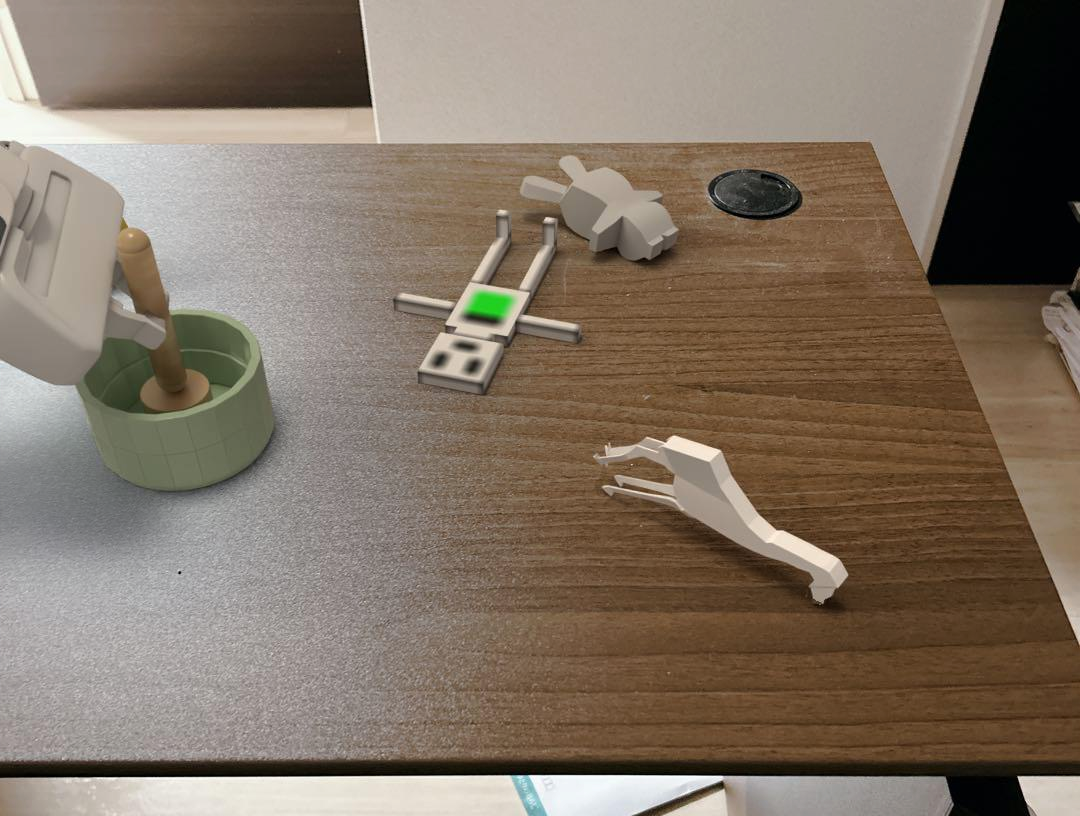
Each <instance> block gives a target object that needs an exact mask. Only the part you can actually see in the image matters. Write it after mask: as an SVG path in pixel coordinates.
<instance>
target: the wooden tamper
mask: <svg viewBox="0 0 1080 816" xmlns="http://www.w3.org/2000/svg"><path fill="white" fill-rule="evenodd" d="M116 248H117V251H118V255H119V258H120V261H121V265H122V268H123V271H124V275H125V278H126V281H127V285H128V288H129V292H130V295H131V298H132V299H131V298H130V299H131V301H132V304H133V308H134V311H135V312H134V313H138V314H141V315H143V314H144V313H145V312H146V311H147V310H148V311H150V312H151V313H153V314H155V315H156V316H157V317H158V318H162V319H164V320H165V321H166V323H167V335H166V339H165V340H164V341H163V343H162V344H161V345H160V346H159V347H158V348H157V349H154V350H152V349H149V348H147V347H146V349H147V352H148V355H149V359H150V362H151V365H152V369H153V372H154V375H155V376H153V377H152V378H150V379H149V380H148V381H147V382H146V383H145V384H144V385H143V387H142V389H141V392H140V398H141V401H142V404H143V408H144V411H145V414H163V413H170V412H177V411H184V410H187V409H190V408H193V407H195V406H198V405H201V404H204V403H207V402H210V401H212V400H213V396H212V392H211V388H210V384H209V381H208V379H207V378H206V377H205V376H204V375H203V374H201V373H200V372H197V371H194V370H190V369H185V366H184V363H183V359H182V355H181V351H180V348H179V344H178V340H177V337H176V333H175V329H174V326H173V322H172V318H171V315H170V311H169V310H170V306H169V307H168V304H167V300H166V296H165V293H164V289H165V288H164V285H163V281H162V278H161V275H160V271H159V267H158V264H157V260H156V255H155V253H154V249H153V246H152V242H151V239H150V237H149V235H148V234H147V232H145V231H144V230H142V229H141V228H138V227H134V226H133V227H130V226H129V227H128V228H126V229H124V230H122V231H121V232H120V233H119V234H118V236H117V239H116Z"/></svg>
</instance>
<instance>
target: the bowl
mask: <svg viewBox="0 0 1080 816" xmlns="http://www.w3.org/2000/svg"><path fill="white" fill-rule="evenodd" d="M169 311H170V315H171V318H172V322H173V326H174V329H175V333H176V337H177V340H178V344H179V348H180V351H181V355H182V359H183V363H184V366H185V369H190V370H194V371H197V372H200V373H201V374H203V375H204V376H205V377H206V378H207V379H208V381H209V384H210V388H211V392H212V396H213V400H212V401H210V402H207V403H204V404H201V405H198V406H195V407H193V408H190V409H187V410H184V411H177V412H170V413H163V414H145V411H144V408H143V404H142V401H141V398H140V392H141V389H142V387H143V385H144V384H145V383H146V382H147V381H148V380H149V379H150V378H152V377H153V376H155V375H154V372H153V369H152V365H151V362H150V359H149V355H148V352H147V349H146V347H145V346H143V345H141V344H140V343H138V342H136V341H134V340H132V339H131V340H129V339H121V338H112V337H105V336H104V340H103V347H102V353H101V355H100V357H99V358H98V360H97V361H96V362H95V364H94V365H93V366H92V367H91V369H90V370H89V371H88V372H87V373H86V374H85V376H84V377H83V378H82V379H81V380H80V381H79V382H78V383H77V384H76V385H74V387H75V390H76V393H77V395H78V398H79V401H80V403H81V406H82V409H83V412H84V414H85V415H84V416H85V417H86V420H87V423H88V425H89V428H90V430H91V434H92V436H93V439H94V441H95V445H96V448H97V450H98V452H99V454H100V456H101V458H102V460H103V462H104V464H105V465H106V467H107V468H108V469H110V470H111V471H113V472H114V473H115V474H117V475H118V476H119V477H121V478H122V479H124V480H125V481H127V482H129V483H131V484H133V485H135V486H138V487H141V488H145V489H150V490H155V491H163V492H180V491H188V490H194V489H195V490H196V489H201V488H205V487H209V486H212V485H214V484H218V483H220V482H221V483H222V481H225V480H227V479H230V478H232V477H233V476H236V475H237V474H239V473H240V472H242V471H243V470H245V469H246V468H247V467H249V466H250V465H251V464H252V463H253V462H255V461H256V460H257V459H258V458H259V456H260V455H261V454H262V452H263V451H264V449H265V448H266V447H267V445H268V443H269V442H270V438H271V436H272V434H273V431H274V427H275V416H274V409H273V408H274V407H273V404H272V398H271V393H270V388H269V384H268V380H267V374H266V370H265V364H264V361H263V355H262V350H261V346H260V342H259V340H258V338H257V337H256V336H255V334H254V333H253V332H252V330H251V329H250V328H249V326H247V325H245V324H244V323H242V322H241V321H239V320H238V319H235V318H234V317H232V316H231V315H227V314H223V313H219V312H215V311H211V310H207V309H195V308H194V309H192V308H191V309H190V308H176V309H169Z"/></svg>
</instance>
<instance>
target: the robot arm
mask: <svg viewBox="0 0 1080 816" xmlns="http://www.w3.org/2000/svg"><path fill="white" fill-rule="evenodd" d="M125 203H126V202H125V198H123V196H122V195H121V194H120V193H119V191H118V190H117V189H116V188H115V187H114V186H113V185H112V184H110V183H109V182H107V181H106V180H104V179H103V178H101V177H99V176H97V175H96V174H94V173H93V172H90V171H88V169H86V168H84V167H82V166H80V165H78V164H77V163H75V162H73V161H71V160H69V159H67V158H66V157H64V156H61V155H60V154H58V153H56V152H54V151H51V150H49V149H47V148H44V147H42V146H38V145H29V146H26V145H24V144H23V143H21V142H19V141H16V140H13V139H12V140H11V141H10V140H0V361H2V362H4V363H5V364H8V365H10V366H11V367H13V368H16V369H18V370H19V371H21V372H24V373H25V374H27V375H29V376H32V377H34V378H36V379H38V380H40V381H42V382H45V383H48V384H49V385H50V384H51V385H52V386H60V387H61V386H62V387H63V386H64V387H65V386H66V387H67V386H69V387H70V386H71V387H72V386H75V385H76V384H77V383H78V382H79V381H80V380H81V379H82V378H83V377H84V376H85V374H86V373H87V372H88V371H89V370H90V369H91V367H92V366H93V365H94V364H95V362H96V361H97V360H98V358H99V357H100V355H101V353H102V347H103V340H104V336H105V337H112V338H121V339H129V340H131V339H132V340H134V341H136V342H138V343H140V344H141V345H143V346H145V347H147V348H149V349H152V350H154V349H157V348H158V347H159V346H160V345H161V344H162V343H163V341H164V340H165V339H166V335H167V323H166V321H165V320H164V319H162V318H158V317H157V316H156V315H155V314H153V313H151V312H150V311H148V310H147V311H146V312H145V313H144V314H143V315H141V314H138V313H136V312H134V311H130V310H126V309H124V303H123V302H121V301H120V300H118V299H116V298H115V297H113V296H112V295H111V294H112V289H113V287H114V286H116V287H117V288H118V289H120V290H121V291H122V292H123V293H124V294H125V295H126V296H127V297H128V298H129V299H131V300H132V298H131V295H130V292H129V288H128V285H127V281H126V278H125V275H124V271H123V268H122V265H121V261H120V258H119V255H118V251H117V248H116V239H117V236H118V234H119V233H120V230H121V224H122V217H123V218H124V210H125ZM163 289H164V293H165V296H166V300H167V304H168V307H169V308H170V298H171V293H169V290H167V289H165V288H163Z"/></svg>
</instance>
